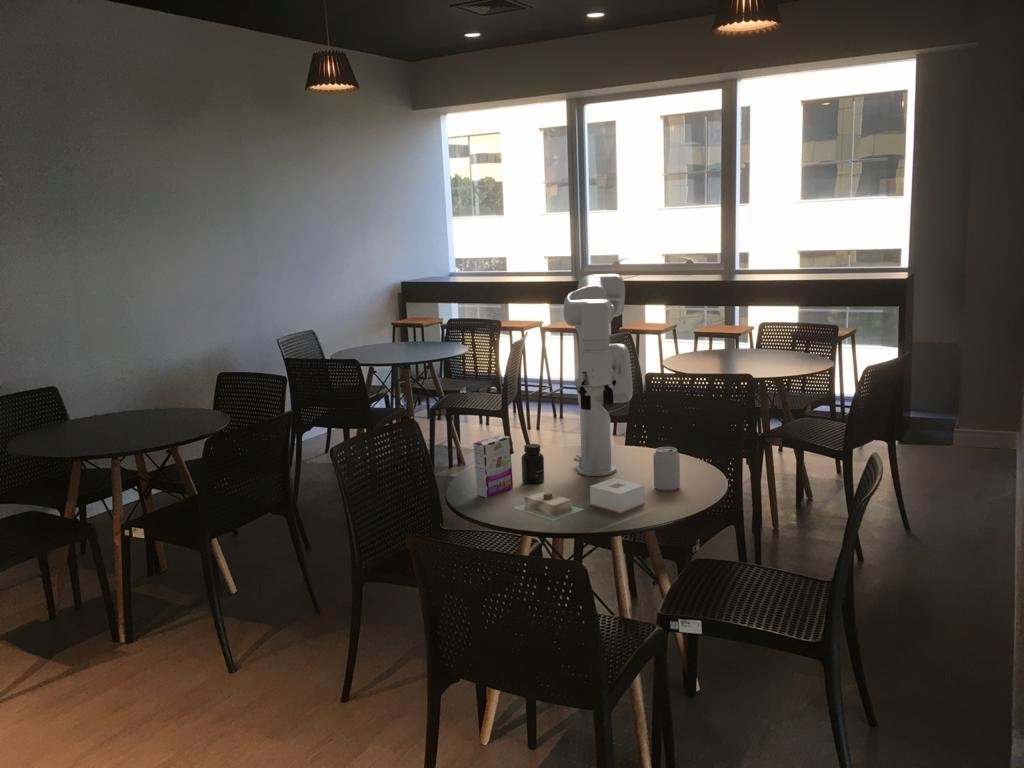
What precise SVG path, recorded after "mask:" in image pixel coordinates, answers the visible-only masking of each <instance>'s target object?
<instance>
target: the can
mask: <svg viewBox="0 0 1024 768" xmlns="http://www.w3.org/2000/svg"><path fill="white" fill-rule="evenodd" d="M680 459H681V458H680V453H679V452H678V449H677V448H676V447H673V446H661V447H657V448H655V452H654V453H653V486H654V488H656V490H658V489H659V490H658V491H660V490H662V491H661V492H674V491H676V490H678V489H679V488H680V486H681V477H680V476H681V472H680V467H681V462H680V461H681V460H680ZM673 490H674V491H673Z"/></svg>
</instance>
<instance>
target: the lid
mask: <svg viewBox="0 0 1024 768" xmlns="http://www.w3.org/2000/svg"><path fill="white" fill-rule="evenodd" d="M524 504H525V507H527V508H530V509H533V510H537V511H540V512H543V513H546V514H549V515H553V516H558V515H560V514H563V513H566V512H569V511H572V506H573V501H572V499H570V498H566V497H563V496H559V495H558V494H557V495H556V494H552V493H549V492H546V491H541V490H540V491H538V492H535V493H532V494H527V495H525V496H524Z"/></svg>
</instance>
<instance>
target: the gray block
mask: <svg viewBox="0 0 1024 768" xmlns="http://www.w3.org/2000/svg"><path fill="white" fill-rule="evenodd" d="M589 500H590V502H589V503H590V506H592V507H596V508H600V509H604V510H606V511H607V510H608V511H611V512H615V513H617V514H622V513H625V512H628V511H631V510H633V509H636V508H639V507H642V506H645V485H644V484H640V483H636V482H631V481H627V480H623V479H619V478H616V477H612V478H609V479H607V480H604V481H601V482H597V483H595V484H592V485H589Z"/></svg>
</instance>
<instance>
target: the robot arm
mask: <svg viewBox="0 0 1024 768" xmlns="http://www.w3.org/2000/svg"><path fill="white" fill-rule="evenodd" d="M577 284H578V285H577V289H576V290H574V291H571V292H570V293H568V294H566V296H565V297H564V298H565V299H564V301H563V317H564V322H565V323H566V325H568V326H570V327H575V330H576V332H577V335H578V347H579V348H578V350H579V351H578V352H579V360H578V374H577V375H578V377H577V378H576V379H575V380H574V382H573V383H574V386H575V387H576V394H577V399H578V400H577V401H578V407H579V409H578V410H579V425H580V430H579V431H580V453H577V454H576V456H575V457H574V458H573V461H574V462H578V463H579V464H578V465H577V467H576V472H577V474H579V475H583V476H586V477H589V476H590V477H603V476H608V475H609V476H610V475H613V474H615V472H617V466H616V465H615V464H613V463H612V436H611V416H610V414H609V412H608V410H606V408H605V407H604V406H603V405H609V406H612V405H614V404H615V403H616V404H618V403H619V404H621V403H628V402H629V401H630V400H631V399H632V398H633V392H634V388H633V385H634V384H633V375H632V363H631V355H630V350H629V347H627V345H626V344H623V343H615V342H614V343H612V342H611V343H610V326H609V325H610V324H611V323H612V321H613V319H614V318H615V317H619V316H622V314H623V312H624V310H625V309H624V308H625V299H626V286H625V285H626V284H625V282H624V279H623V277H622V276H621V275H620V274H617V273H600V274H599V273H597V274H596V273H595V274H588V275H585V276H582V278H581V279H580V280H579V282H578V283H577Z"/></svg>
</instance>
